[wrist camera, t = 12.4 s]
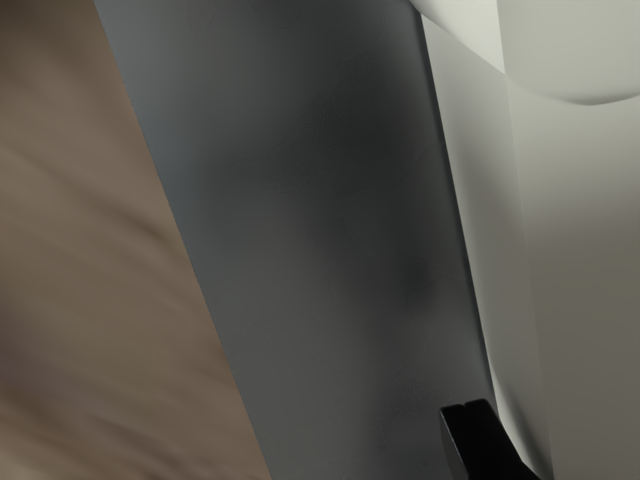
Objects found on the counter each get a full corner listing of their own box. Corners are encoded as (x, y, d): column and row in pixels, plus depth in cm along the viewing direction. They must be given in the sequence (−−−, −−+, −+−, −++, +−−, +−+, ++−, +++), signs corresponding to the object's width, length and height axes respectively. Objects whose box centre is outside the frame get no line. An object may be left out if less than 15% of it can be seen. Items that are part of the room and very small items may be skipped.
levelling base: (699, 572, 19) (757, 663, 17) (342, 630, 20) (351, 726, 17) (1050, -284, 7) (1425, -377, 5) (98, -83, 8) (19, -79, 5)
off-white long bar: (370, -152, 6) (439, -197, 3) (586, -234, 6) (836, -348, 3) (490, 420, 11) (552, 570, 9) (605, 390, 11) (703, 535, 8)
